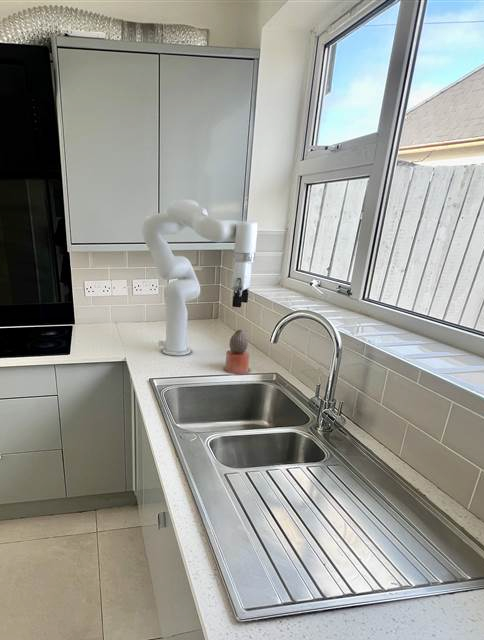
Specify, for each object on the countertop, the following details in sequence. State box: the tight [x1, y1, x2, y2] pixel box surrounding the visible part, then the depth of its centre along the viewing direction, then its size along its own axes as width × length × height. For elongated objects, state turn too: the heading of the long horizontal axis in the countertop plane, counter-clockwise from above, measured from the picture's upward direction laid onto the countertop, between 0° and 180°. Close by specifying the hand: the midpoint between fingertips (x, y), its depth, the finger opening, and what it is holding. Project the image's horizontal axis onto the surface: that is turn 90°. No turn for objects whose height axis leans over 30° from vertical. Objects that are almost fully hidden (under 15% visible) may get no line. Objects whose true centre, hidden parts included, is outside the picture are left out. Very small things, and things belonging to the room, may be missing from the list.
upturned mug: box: [224, 349, 250, 375], centre depth 162 cm, size 12×9×7 cm
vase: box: [229, 329, 249, 354], centre depth 158 cm, size 7×7×9 cm
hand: (240, 304), depth 154 cm, fingers open, 9 cm apart
